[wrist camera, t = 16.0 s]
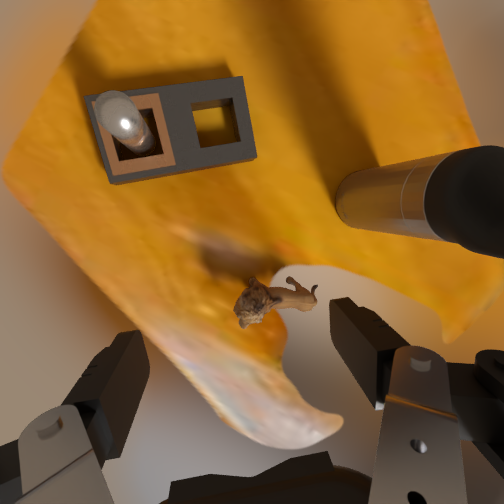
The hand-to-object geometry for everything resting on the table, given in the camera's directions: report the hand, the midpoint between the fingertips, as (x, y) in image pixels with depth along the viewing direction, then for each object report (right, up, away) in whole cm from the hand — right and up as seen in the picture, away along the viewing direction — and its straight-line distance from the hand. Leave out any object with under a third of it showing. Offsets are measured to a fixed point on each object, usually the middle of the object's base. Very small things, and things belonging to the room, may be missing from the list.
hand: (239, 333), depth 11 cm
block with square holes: (-9, +19, +25) cm, 33 cm away
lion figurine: (+3, -3, +32) cm, 33 cm away
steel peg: (-14, +18, +25) cm, 34 cm away
